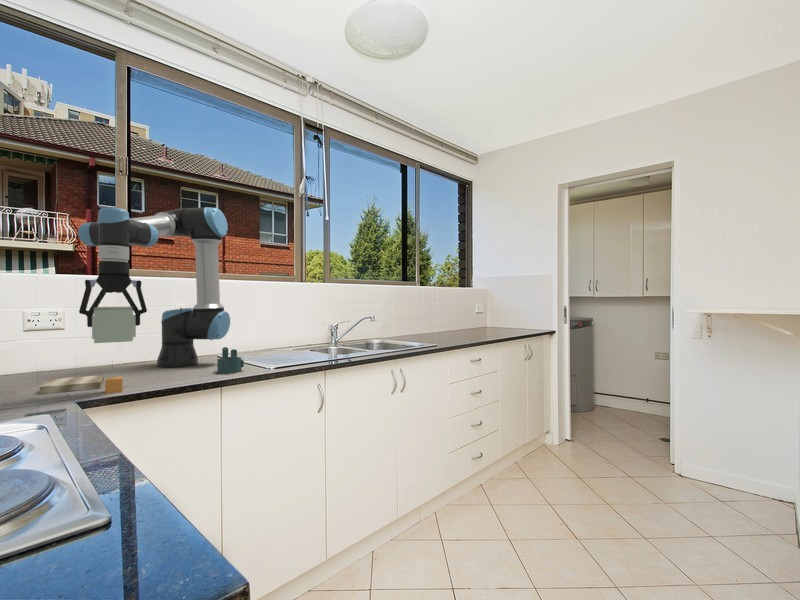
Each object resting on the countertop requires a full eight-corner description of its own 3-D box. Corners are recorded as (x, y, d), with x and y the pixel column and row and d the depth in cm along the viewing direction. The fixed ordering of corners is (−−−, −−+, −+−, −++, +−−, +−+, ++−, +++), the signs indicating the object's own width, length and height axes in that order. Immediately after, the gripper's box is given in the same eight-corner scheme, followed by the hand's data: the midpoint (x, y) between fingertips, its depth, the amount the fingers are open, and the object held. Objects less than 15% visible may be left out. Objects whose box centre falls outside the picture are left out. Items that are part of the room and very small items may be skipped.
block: (122, 389, 125) (122, 376, 125) (122, 392, 121) (121, 378, 121) (106, 391, 123) (106, 377, 123) (105, 393, 119) (105, 380, 119)
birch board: (104, 380, 138) (104, 374, 138) (100, 388, 126) (99, 382, 126) (50, 385, 131) (50, 379, 131) (39, 394, 119) (39, 387, 119)
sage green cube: (133, 338, 128) (133, 306, 128) (132, 341, 121) (132, 307, 121) (97, 340, 124) (97, 306, 124) (94, 343, 116) (93, 307, 116)
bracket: (234, 374, 150) (234, 349, 150) (211, 373, 152) (211, 349, 152) (247, 370, 159) (247, 347, 159) (225, 369, 161) (225, 346, 161)
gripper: (64, 258, 113) (65, 340, 113) (156, 261, 124) (157, 336, 125) (69, 260, 120) (70, 338, 120) (156, 263, 131) (157, 334, 131)
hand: (114, 337), depth 122 cm, fingers closed on sage green cube, 9 cm apart
